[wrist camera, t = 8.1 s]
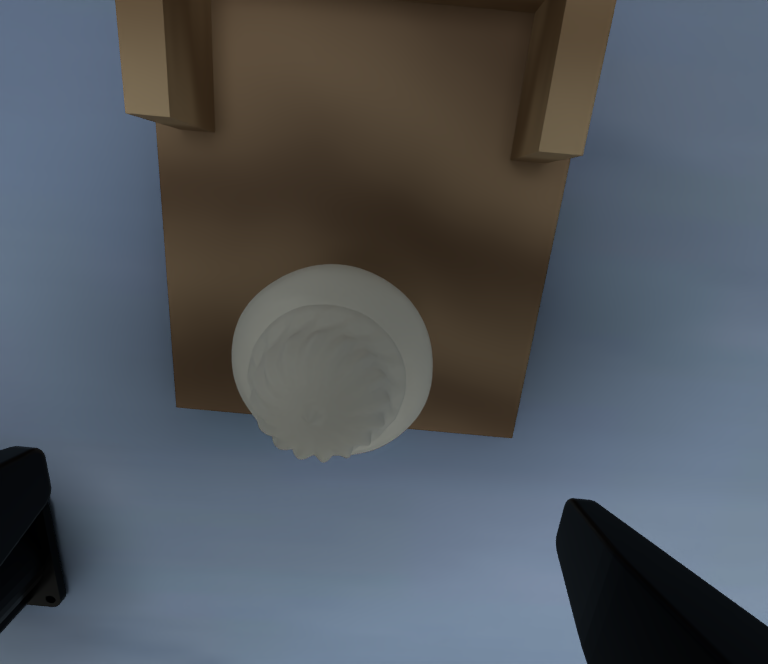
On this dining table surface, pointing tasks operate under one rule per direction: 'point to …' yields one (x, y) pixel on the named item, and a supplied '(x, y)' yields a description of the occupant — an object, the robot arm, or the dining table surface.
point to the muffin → (332, 361)
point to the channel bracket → (366, 168)
